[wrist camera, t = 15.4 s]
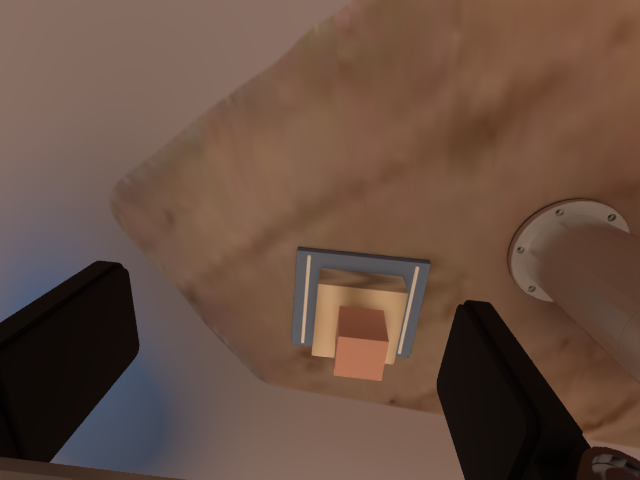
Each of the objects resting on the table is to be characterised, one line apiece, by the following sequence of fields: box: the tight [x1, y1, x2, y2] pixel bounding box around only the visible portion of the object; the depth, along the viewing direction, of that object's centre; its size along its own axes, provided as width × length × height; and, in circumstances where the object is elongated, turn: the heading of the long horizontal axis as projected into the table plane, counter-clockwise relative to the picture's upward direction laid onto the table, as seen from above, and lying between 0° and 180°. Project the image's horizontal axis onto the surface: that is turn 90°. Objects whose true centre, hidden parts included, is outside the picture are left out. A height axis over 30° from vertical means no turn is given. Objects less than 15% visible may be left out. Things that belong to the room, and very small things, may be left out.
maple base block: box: [312, 268, 408, 365], centre depth 42 cm, size 10×10×4 cm
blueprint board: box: [291, 247, 431, 358], centre depth 44 cm, size 16×14×1 cm
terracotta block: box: [334, 306, 389, 381], centre depth 37 cm, size 5×5×6 cm
